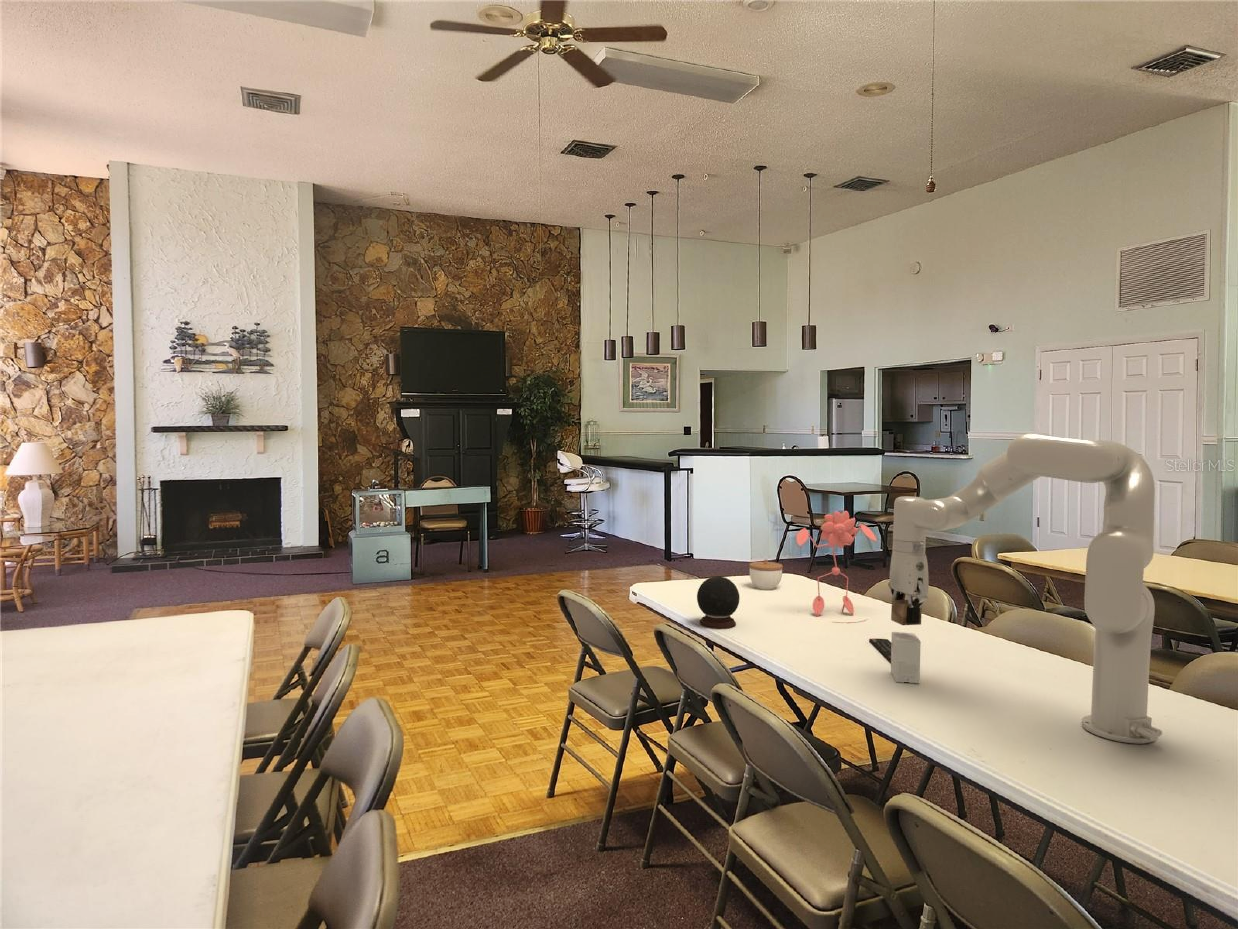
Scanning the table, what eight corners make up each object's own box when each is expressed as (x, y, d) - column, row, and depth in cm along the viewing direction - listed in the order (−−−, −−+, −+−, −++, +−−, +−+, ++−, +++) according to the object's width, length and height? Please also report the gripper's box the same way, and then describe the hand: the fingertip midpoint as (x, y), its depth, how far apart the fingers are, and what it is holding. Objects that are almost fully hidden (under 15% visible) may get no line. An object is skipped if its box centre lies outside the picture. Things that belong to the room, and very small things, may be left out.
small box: (919, 684, 182) (921, 641, 181) (895, 682, 183) (896, 639, 183) (913, 673, 190) (915, 632, 189) (890, 672, 191) (891, 631, 190)
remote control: (894, 669, 195) (894, 664, 195) (868, 642, 219) (868, 638, 219) (914, 669, 195) (915, 664, 195) (887, 643, 219) (887, 638, 218)
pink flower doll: (790, 611, 252) (794, 507, 250) (864, 611, 255) (869, 508, 252) (805, 624, 237) (810, 514, 234) (884, 624, 239) (889, 514, 237)
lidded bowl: (763, 583, 298) (763, 555, 298) (788, 588, 289) (789, 560, 288) (741, 587, 290) (742, 558, 290) (767, 593, 281) (768, 563, 280)
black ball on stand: (699, 630, 228) (700, 581, 228) (693, 618, 241) (694, 572, 241) (742, 630, 229) (743, 581, 228) (734, 619, 242) (735, 572, 241)
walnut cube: (921, 624, 184) (921, 604, 184) (902, 625, 183) (903, 605, 183) (909, 619, 189) (909, 599, 189) (891, 620, 188) (891, 600, 187)
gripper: (944, 552, 177) (941, 629, 178) (902, 541, 194) (899, 611, 195) (915, 553, 176) (912, 630, 177) (876, 541, 192) (873, 612, 193)
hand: (906, 619), depth 186 cm, fingers closed on walnut cube, 4 cm apart
